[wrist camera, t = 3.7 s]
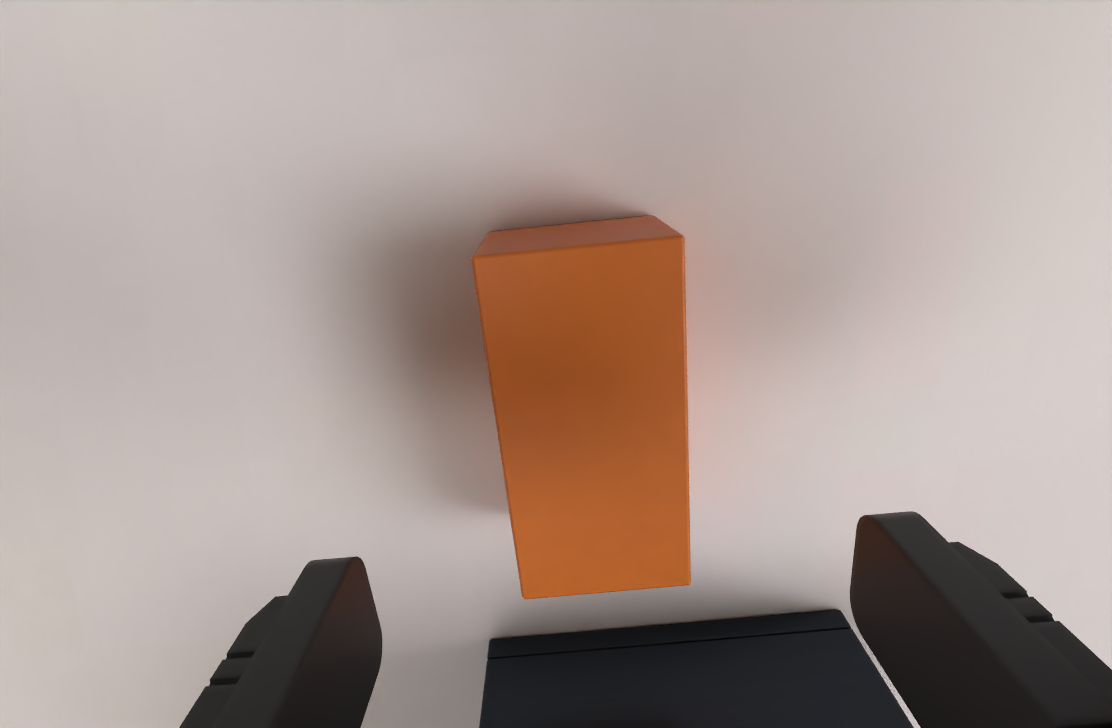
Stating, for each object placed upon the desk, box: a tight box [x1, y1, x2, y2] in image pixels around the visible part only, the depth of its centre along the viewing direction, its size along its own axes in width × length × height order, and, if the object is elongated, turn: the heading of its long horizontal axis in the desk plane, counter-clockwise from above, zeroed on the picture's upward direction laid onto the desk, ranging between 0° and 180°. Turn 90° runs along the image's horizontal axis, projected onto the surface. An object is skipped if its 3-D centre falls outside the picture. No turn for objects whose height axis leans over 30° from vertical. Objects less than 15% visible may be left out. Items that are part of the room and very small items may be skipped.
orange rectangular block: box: [471, 215, 691, 599], centre depth 15 cm, size 9×4×4 cm, turn 6°
